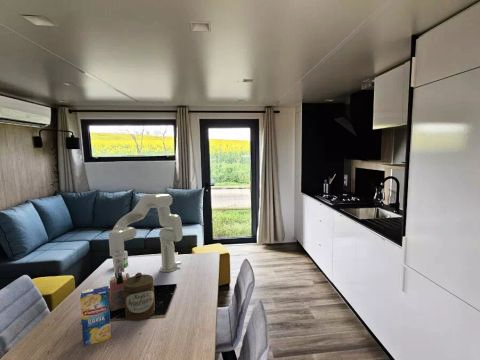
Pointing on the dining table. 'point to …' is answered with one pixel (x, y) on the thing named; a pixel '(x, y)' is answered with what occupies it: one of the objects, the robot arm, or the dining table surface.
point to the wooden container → (139, 297)
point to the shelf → (118, 297)
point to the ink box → (125, 259)
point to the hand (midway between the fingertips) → (119, 280)
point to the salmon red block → (116, 287)
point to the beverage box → (95, 315)
